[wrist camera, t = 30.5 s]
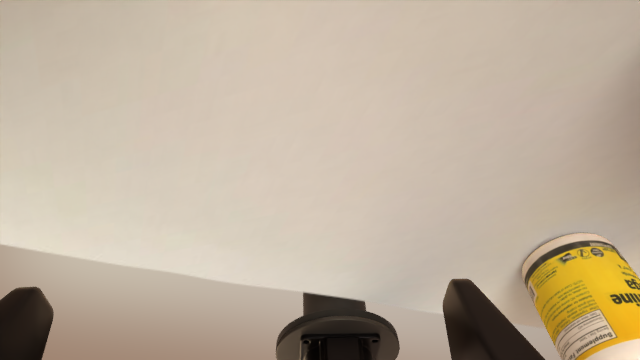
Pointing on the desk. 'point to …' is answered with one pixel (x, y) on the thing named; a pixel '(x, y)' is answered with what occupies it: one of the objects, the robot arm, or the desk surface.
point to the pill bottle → (586, 297)
